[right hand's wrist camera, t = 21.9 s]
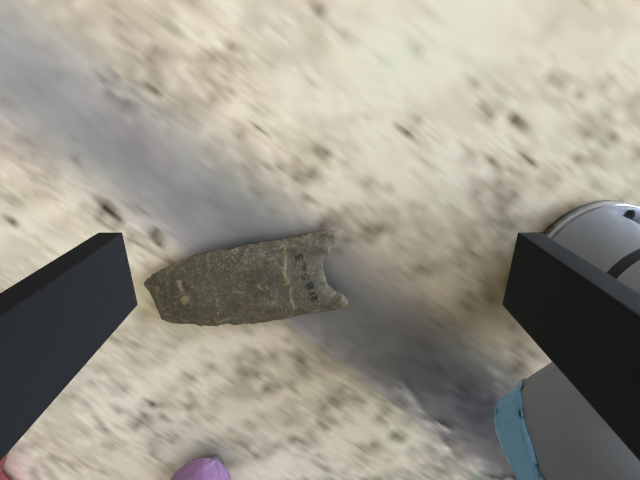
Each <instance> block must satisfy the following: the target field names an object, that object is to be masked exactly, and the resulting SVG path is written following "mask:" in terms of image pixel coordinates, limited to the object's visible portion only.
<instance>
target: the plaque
mask: <svg viewBox="0 0 640 480" xmlns="http://www.w3.org/2000/svg"><path fill="white" fill-rule="evenodd" d="M5 459H6V455H5V456H4V457H3V459H2V460H1V461H0V480H9V479H8V478H7V476H6V475H5V474H4V473H3V471H2V468H3V465H4V462H5Z"/></svg>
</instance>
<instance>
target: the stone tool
mask: <svg viewBox="0 0 640 480" xmlns="http://www.w3.org/2000/svg"><path fill="white" fill-rule="evenodd" d="M335 239H336V232H334V231H319V232H312V233H310V234H304V235H299V236H296V237H294V238H284V239H281V240H273V241H262V242H259V243H254V244H245V245H242V246H239V247H236V248H233V249H231V250H224V249H221V250H220V249H218V250H215V251H211V252H209V253H207V254H201V255H193V256H191V257H189V258H188V259H185V260H182V261H180V262H177V263H173V264H172V265H171V266H169V267H167V268H166V269H162V270H161V271H159V272H157V273H155V274H153V275H152V276H151V277H150V278H148V279H147V280H146V281H145V282H144V286H145V287H146V288H147V289H148V290H149V292H150V293H151V296H152V298H153V300H154V302H155V304H156V307H157V309H158V311H159V313H160V316H161V319H163V320H165V321H167V322H172V323H179V324H185V323H189V324H196V325H199V326H204V325H207V326H219V325H222V324H227V323H228V324H232V325H239V324H244V323H246V324H247V323H250V324H254V323H259V322H268V321H272V320H283V319H286V318H291V317H295V316H299V315H302V314H309V313H314V312H321V311H330V310H336V309H338V308H343V307H345V306H347V305H348V301H347V299H346V297H345V296H344V295H343V294H341V293H339V292H338V291H334V290H333V289H332V288H331V287H330V286H329V285H328V284H327V281H326V277H325V274H324V269H323V264H322V263H323V261H324V260H325V258H326V257H327V256H328V255H329V254H330V248H331V247H332V246H333V245H334V243H335V242H334V241H335Z"/></svg>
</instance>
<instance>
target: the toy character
mask: <svg viewBox="0 0 640 480" xmlns="http://www.w3.org/2000/svg"><path fill="white" fill-rule="evenodd" d="M170 480H231V479H230V476H229V473H228V472H227V470H226V468H225V467H224V464H223V460H222V458H221V456H220V455H214V456H212V457H210V458H200V457H199V458H196V459H194V460H193V461H191V462H190V463H188V464H186V465H184V466H183V467H181V468H180V469H178V470H177V471H176V472H175V474H174V475H173V477H172V478H171V479H170Z"/></svg>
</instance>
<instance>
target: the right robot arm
mask: <svg viewBox="0 0 640 480" xmlns="http://www.w3.org/2000/svg"><path fill="white" fill-rule="evenodd" d="M137 305H138V304H137V300H136V295H135V291H134V286H133V281H132V277H131V272H130V268H129V263H128V258H127V254H126V249H125V244H124V240H123V235H122V233H98V234H96V235H94V236H93V237H91V238H89V239H88V240H86V241H85V242H83V243H81V244H80V245H78V246H77V247H75V248H73V249H72V250H70V251H68V252H67V253H65V254H64V255H62V256H60V257H59V258H57V259H55V260H54V261H52V262H51V263H49V264H47V265H46V266H44V267H42V268H41V269H39V270H38V271H36V272H34V273H33V274H31V275H29V276H28V277H26V278H25V279H23V280H21V281H20V282H18V283H16V284H15V285H13V286H12V287H10V288H8V289H7V290H5V291H3V292H2V293H0V461H1V460H2V459H3V457H4V456H5V455H6V454H7V453H8V452H9V451H10V449H11V448H12V447H13V446H14V445H15V444H16V443H17V441H18V440H19V439H20V438H21V437H22V436H23V435H24V433H25V432H26V431H27V430H28V429H29V428H30V427H31V425H32V424H33V423H34V422H35V421H36V420H37V419H38V417H39V416H40V415H41V414H42V413H43V412H44V411H45V409H46V408H47V407H48V406H49V405H50V404H51V403H52V401H53V400H54V399H55V398H56V397H57V396H58V395H59V394H60V392H61V391H62V390H63V389H64V388H65V387H66V386H67V384H68V383H69V382H70V381H71V380H72V379H73V378H74V376H75V375H76V374H77V373H78V372H79V371H80V370H81V368H82V367H83V366H84V365H85V364H86V363H87V362H88V360H89V359H90V358H91V357H92V356H93V355H94V354H95V352H96V351H97V350H98V349H99V348H100V347H101V346H102V344H103V343H104V342H105V341H106V340H107V339H108V338H109V336H110V335H111V334H112V333H113V332H114V331H115V330H116V328H117V327H118V326H119V325H120V324H121V323H122V322H123V321H124V319H125V318H126V317H127V316H128V315H129V314H130V313H131V311H132V310H133V309H134V308H135V307H136V306H137ZM502 305H503V306H504V307H505V308H506V309H507V310H508V311H509V313H510V314H511V315H512V316H513V317H514V318H515V319H516V321H517V322H518V323H519V324H520V325H521V326H522V327H523V328H524V330H525V331H526V332H527V333H528V334H529V335H530V336H531V338H532V339H533V340H534V341H535V342H536V343H537V344H538V346H539V347H540V348H541V349H542V350H543V351H544V352H545V354H546V355H547V356H548V357H549V358H550V359H551V360H552V362H551V363H550V364H548V365H547V366H545V367H544V368H542V369H541V370H539V371H538V372H536V373H535V374H533V375H532V376H530V377H529V378H526V379H523V380H521V381H520V382H519V384H518V386H517V387H515V388H514V389H513V390H512V391H511V392H509V393H508V394H507V395H505V396H504V397H503V398H501V399H500V400H499V401H498V403H497V404H496V406H495V410H494V422H495V424H494V425H495V429H496V433H497V436H498V439H499V442H500V445H501V447H502V450H503V452H504V455H505V457H506V459H507V461H508V463H509V465H510V467H511V469H512V471H513V473H514V475H515V476H516V478H517V480H640V207H637V206H634V205H631V204H629V203H625V202H620V201H601V202H595V203H591V204H588V205H585V206H582V207H580V208H577V209H575V210H573V211H571V212H570V213H568V214H566V215H565V216H563V217H562V218H561V219H559V220H558V221H557V222H556V223H555V224H553V225H552V226H551V227H550V228H549V229H548V231H547V232H546V233H545V234H542V233H518V235H517V240H516V244H515V249H514V254H513V258H512V263H511V268H510V272H509V277H508V281H507V286H506V291H505V295H504V300H503V304H502Z"/></svg>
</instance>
